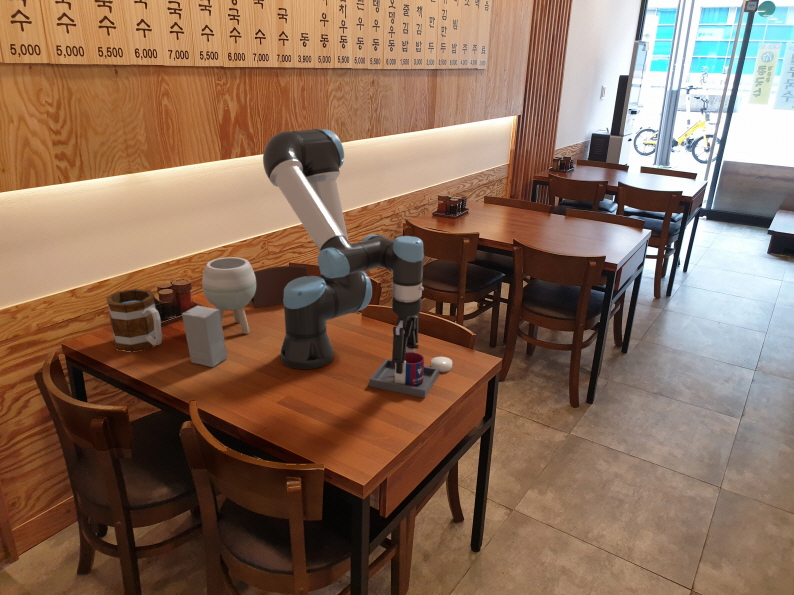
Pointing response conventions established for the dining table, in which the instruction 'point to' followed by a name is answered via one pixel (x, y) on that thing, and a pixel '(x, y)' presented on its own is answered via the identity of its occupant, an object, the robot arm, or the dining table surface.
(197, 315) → the skincare box
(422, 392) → the tray
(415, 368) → the cup
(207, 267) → the planter
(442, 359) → the white rounded flat piece
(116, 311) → the mug
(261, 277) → the letter holder
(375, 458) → the dining table surface
